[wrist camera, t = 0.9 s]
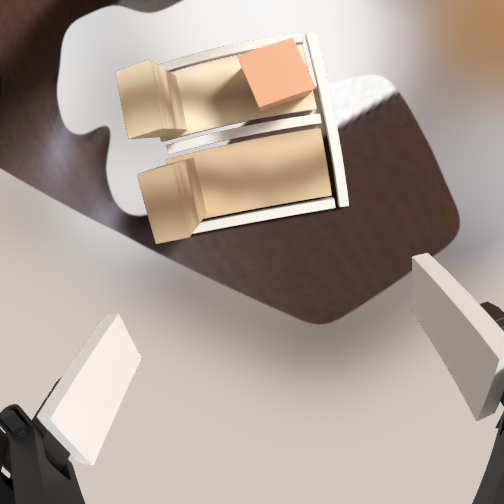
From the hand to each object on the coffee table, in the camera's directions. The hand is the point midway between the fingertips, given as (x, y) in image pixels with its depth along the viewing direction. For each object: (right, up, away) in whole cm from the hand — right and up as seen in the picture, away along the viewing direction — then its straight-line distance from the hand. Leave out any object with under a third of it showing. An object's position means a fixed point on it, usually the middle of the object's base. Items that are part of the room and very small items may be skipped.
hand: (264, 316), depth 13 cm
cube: (+2, +19, +15) cm, 24 cm away
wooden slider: (-3, +19, +17) cm, 25 cm away
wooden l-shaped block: (-1, +11, +20) cm, 23 cm away
